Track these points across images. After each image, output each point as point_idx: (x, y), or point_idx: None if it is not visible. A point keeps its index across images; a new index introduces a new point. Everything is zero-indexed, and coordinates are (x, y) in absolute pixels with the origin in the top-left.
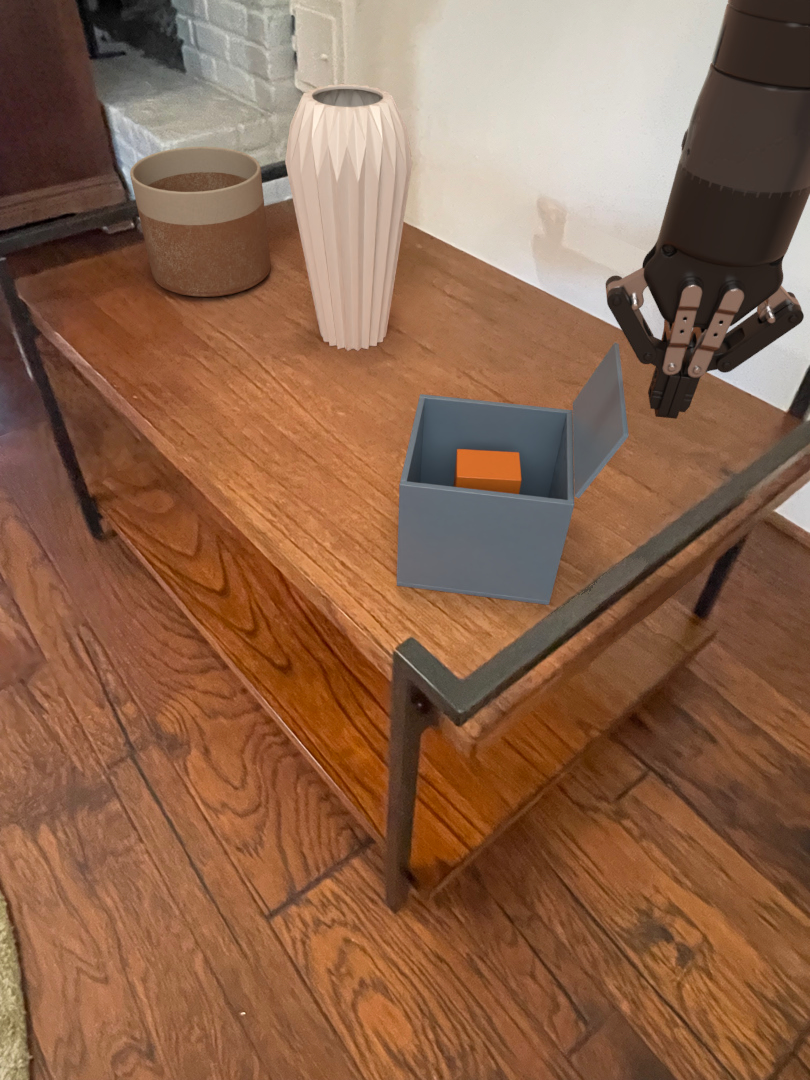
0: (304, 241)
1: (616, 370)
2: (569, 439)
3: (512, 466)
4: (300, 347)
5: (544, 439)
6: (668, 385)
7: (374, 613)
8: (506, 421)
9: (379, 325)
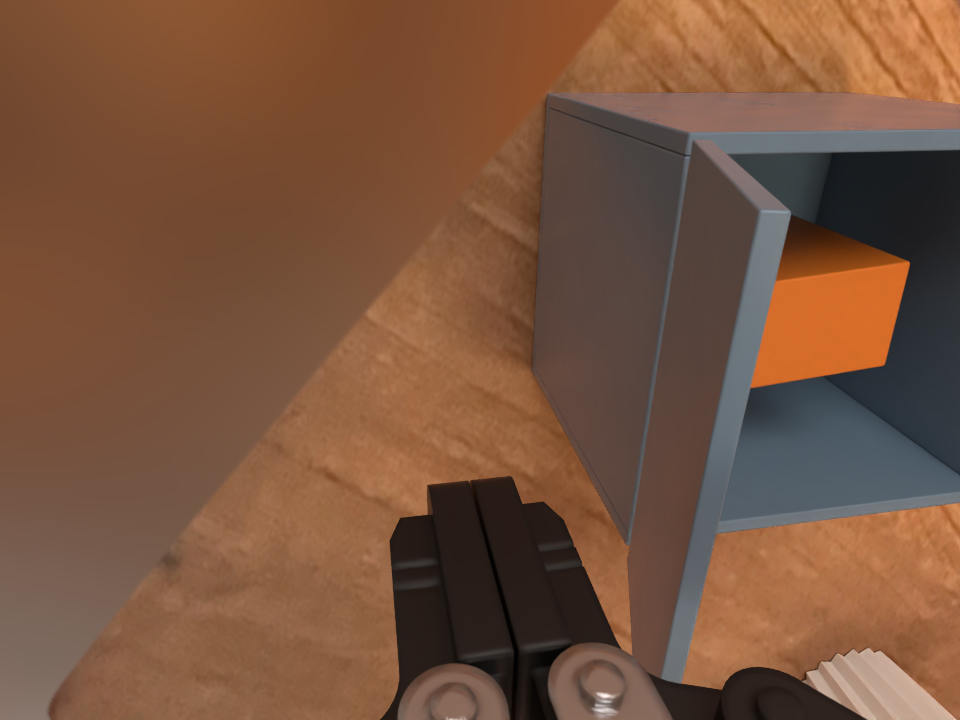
0: None
1: (687, 649)
2: None
3: (764, 333)
4: (924, 634)
5: None
6: (546, 595)
7: (901, 2)
8: (760, 483)
9: None
